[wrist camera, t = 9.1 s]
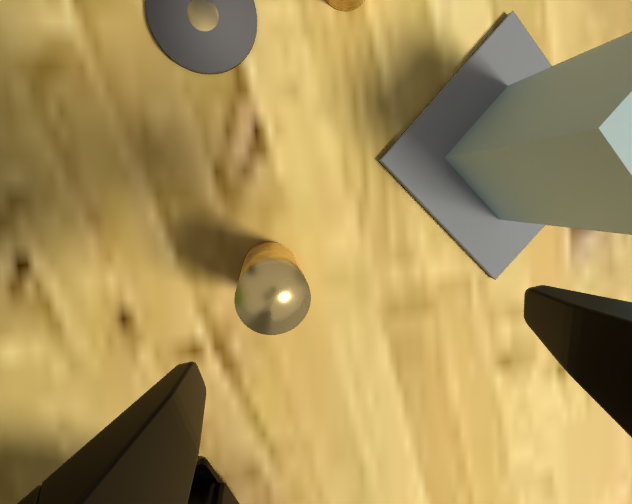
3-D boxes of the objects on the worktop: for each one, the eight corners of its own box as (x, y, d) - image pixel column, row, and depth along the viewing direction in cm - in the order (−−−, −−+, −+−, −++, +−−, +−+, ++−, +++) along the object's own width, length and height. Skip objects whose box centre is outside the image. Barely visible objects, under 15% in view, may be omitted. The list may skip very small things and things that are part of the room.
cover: (499, 219, 22) (677, 240, 12) (444, 157, 20) (598, 128, 11) (559, 153, 21) (784, 123, 12) (508, 85, 20) (719, -7, 11)
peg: (258, 302, 20) (256, 347, 14) (233, 256, 19) (220, 284, 14) (305, 279, 20) (322, 314, 15) (282, 233, 20) (291, 249, 14)
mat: (491, 278, 23) (495, 279, 22) (378, 160, 20) (381, 160, 19) (605, 152, 22) (611, 151, 22) (508, 14, 19) (513, 10, 19)
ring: (182, 90, 17) (181, 89, 17) (126, -20, 16) (123, -24, 16) (274, 50, 18) (274, 48, 17) (226, -61, 16) (225, -65, 16)
